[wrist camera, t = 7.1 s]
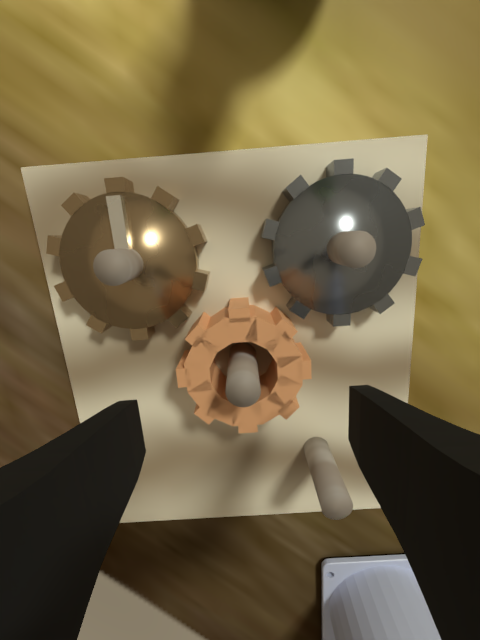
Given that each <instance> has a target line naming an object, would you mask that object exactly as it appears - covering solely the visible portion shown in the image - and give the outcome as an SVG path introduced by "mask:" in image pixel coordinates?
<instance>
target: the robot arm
mask: <svg viewBox="0 0 480 640" xmlns="http://www.w3.org/2000/svg"><path fill="white" fill-rule="evenodd" d="M348 440H349V442H350V445H351V448H352V451H353V453H354V456H355V458H356V461H357V463H358V466H359V468H360V470H361V472H362V474H363V475H364V477H365V479H366V481H367V483H368V485H369V487H370V488H371V490H372V492H373V494H374V496H375V498H376V499H377V501H378V503H379V505H380V507H381V509H382V510H383V512H384V514H385V516H386V518H387V520H388V521H389V523H390V525H391V527H392V529H393V530H394V532H395V534H396V536H397V538H398V540H399V542H400V544H401V546H402V548H403V550H404V552H405V554H399V555H380V556H362V557H344V558H328V559H325V560H324V561H323V562H322V564H321V574H322V640H480V435H479V434H476V433H473V432H471V431H468V430H466V429H463V428H461V427H458V426H456V425H453V424H451V423H449V422H446V421H444V420H442V419H440V418H437V417H435V416H433V415H431V414H428V413H426V412H424V411H422V410H420V409H418V408H416V407H414V406H412V405H410V404H408V403H406V402H404V401H402V400H400V399H398V398H396V397H394V396H392V395H390V394H388V393H385V392H383V391H381V390H379V389H377V388H375V387H372V386H370V385H357V386H349V427H348ZM145 454H146V448H145V442H144V436H143V430H142V425H141V419H140V413H139V407H138V402H137V400H123V401H118V402H116V403H114V404H112V405H110V406H108V407H107V408H105V409H103V410H101V411H100V412H98V413H97V414H95V415H93V416H92V417H90V418H88V419H87V420H85V421H84V422H82V423H80V424H79V425H77V426H76V427H74V428H72V429H71V430H69V431H67V432H66V433H64V434H62V435H61V436H59V437H57V438H55V439H54V440H52V441H50V442H48V443H47V444H45V445H43V446H41V447H40V448H38V449H36V450H34V451H33V452H31V453H29V454H27V455H25V456H23V457H21V458H19V459H17V460H15V461H13V462H11V463H9V464H7V465H5V466H3V467H1V468H0V640H77V637H78V634H79V631H80V628H81V624H82V622H83V618H84V615H85V612H86V609H87V606H88V602H89V600H90V597H91V594H92V591H93V588H94V585H95V582H96V579H97V576H98V573H99V570H100V567H101V565H102V562H103V560H104V557H105V555H106V552H107V550H108V547H109V545H110V543H111V540H112V538H113V536H114V534H115V531H116V529H117V527H118V525H119V522H120V520H121V518H122V516H123V513H124V511H125V509H126V507H127V504H128V502H129V500H130V497H131V495H132V493H133V490H134V488H135V486H136V483H137V481H138V478H139V475H140V472H141V468H142V465H143V461H144V457H145Z"/></svg>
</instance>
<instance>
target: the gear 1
mask: <svg viewBox="0 0 480 640" xmlns="http://www.w3.org/2000/svg"><path fill="white" fill-rule="evenodd" d="M104 182H105V187H106V193H105V194H102V195H99V196H96V197H94V198H92V199H90V198H89V197H88V196H86V195H82V194H78V193H74V192H73V194H72V195H71V196H70V197H69V198H68V199H67V200H66V201H65V202H64V203H63V204H62V205H61V206H62V207H63V208H64V209H65V210H66V211H67V212H68V213H69V215H70V216H71V217H70V219H69V221H68V222H67V224H66V226H65V229H64V231H63V233H62V235H48V237H47V249H46V254H50V255H54V256H58V257H60V266H61V271H62V274H63V278H64V280H65V281H64V282H61V283H59V284H57V285H54V288H55V289H56V291H57V293H58V295H59V296H60V298H61V300H62V302H64V301H67V300H69V299H72V298H75V300H76V301H77V302H78V303H79V304H80V305H81V306H82V307H83V308H84V309H85V310H86V311H87V312H88V313H89V314H91V316H90V318H89V320H88V322H87V324H86V325H87V326H89V327H90V328H92V329H94V330H96V331H98V332H99V333H101V334H102V333H103V332H105V331H106V330H107V329H109V328H110V327H112V326H116V327H120V328H126V329H130V334H131V339H132V341H133V340H147V339H149V338H150V337H151V336H152V335H153V334H154V333H155V327H154V326H155V325H157V324H159V323H162V322H164V321H165V320H167V319H168V320H169V322H170V323H171V324H172V325H173V326H174V327H175V328H177V327H178V326H179V325H181V324H182V323H183V322H184V321H185V320H187V319H188V318H189V316H190V315H191V313H192V311H191V310H190V309H189V307H188V306H187V305H186V304H185V302H186V301H187V299H188V298H189V297H190V295H191V293H192V291H193V289H195V290H199V291H203V292H204V291H205V290H206V288H207V285H208V280H209V276H210V271H205V270H201V269H199V257H198V252H197V247H196V246H197V245H200V244H202V243H205V242H207V239H206V237H205V234H204V232H203V230H202V227H201V225H199V224H195V225H193V226H191V227H187V225H186V224H185V223H184V222H183V220H182V219H181V218H180V217H179V216H178V215H177V214H176V213H175V212H174V209H175V207H176V206H177V204H178V202H179V199H177V198H176V197H174V196H173V195H171V194H170V193H168V192H166V191H165V190H163V189H162V188H160V187H159V186H157V187H156V189H155V191H154V193H153V195H152V197H151V198H149V197H146V196H144V195H140V194H137V193H134V187H133V182H132V181H130V180H128V179H126V178H124V177H114V178H104ZM119 248H126V249H133V250H135V251H136V252H138V253H139V255H140V256H141V258H142V260H143V271H142V273H141V274H140V276H138V277H137V278H135V279H133V280H130V281H128V282H125V283H123V284H120V285H117V286H109V285H106V284H104V283H102V282H101V281H100V280H99V279H98V278H97V277H96V275H95V273H94V269H93V262H94V259H95V257H96V256H97V254H99V253H100V252H101V251H103V250H108V249H119Z"/></svg>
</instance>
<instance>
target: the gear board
mask: <svg viewBox="0 0 480 640" xmlns="http://www.w3.org/2000/svg"><path fill="white" fill-rule="evenodd" d="M427 136H428V135H416V136H404V137H391V138H379V139H366V140H354V141H342V142H329V143H317V144H305V145H292V146H280V147H268V148H255V149H243V150H231V151H218V152H206V153H194V154H181V155H169V156H156V157H144V158H132V159H119V160H107V161H95V162H82V163H70V164H58V165H45V166H33V167H21V171H22V175H23V180H24V184H25V188H26V193H27V197H28V201H29V205H30V210H31V214H32V218H33V223H34V227H35V231H36V236H37V240H38V244H39V248H40V253H41V257H42V261H43V266H44V270H45V274H46V278H47V283H48V287H49V291H50V296H51V300H52V304H53V309H54V313H55V317H56V321H57V326H58V330H59V334H60V339H61V343H62V347H63V351H64V356H65V360H66V364H67V369H68V373H69V377H70V382H71V386H72V390H73V394H74V399H75V403H76V407H77V412H78V416H79V420H80V423H82V422H84V421H85V420H87V419H88V418H90V417H92V416H93V415H95V414H97V413H98V412H100V411H101V410H103V409H105V408H107V407H108V406H110V405H112V404H114V403H116V402H118V401H123V400H137V402H138V407H139V413H140V419H141V425H142V430H143V436H144V442H145V448H146V454H145V457H144V461H143V465H142V468H141V472H140V475H139V478H138V481H137V483H136V486H135V488H134V490H133V493H132V495H131V497H130V500H129V502H128V504H127V507H126V509H125V511H124V513H123V516H122V518H121V520H120V522H119V523H127V522H144V521H161V520H179V519H196V518H214V517H231V516H249V515H266V514H283V513H301V512H318V511H322V513H323V514H324V515H325V516H326V517H327V518H330V519H334V520H338V519H342V518H345V517H347V516H348V515H349V514H350V513H351V511H352V510H353V509H371V508H381V507H380V505H379V503H378V501H377V499H376V498H375V496H374V494H373V492H372V490H371V488H370V487H369V485H368V483H367V481H366V479H365V477H364V475H363V474H362V472H361V470H360V468H359V466H358V463H357V461H356V458H355V456H354V453H353V451H352V448H351V445H350V442H349V440H348V427H349V386H357V385H370V386H372V387H375V388H377V389H379V390H381V391H383V392H385V393H388V394H390V395H392V396H394V397H396V398H398V399H400V400H402V401H404V402H406V403H408V393H409V380H410V366H411V353H412V339H413V325H414V312H415V298H416V285H417V274H416V276H411V275H406V274H403V275H402V276H401V278H400V280H399V281H398V283H397V284H396V285H395V287H394V288H393V289H392V290H391V291H390V292H389V293H388V294H389V296H390V297H391V298H392V300H393V301H394V303H395V304H393V305H392V306H391V307H389V308H388V309H387V310H385V311H384V312H383V313H381V314H379V313H377V312H375V311H374V310H372V309H370V308H369V307H368V308H366V309H363V310H361V311H358V312H354V313H351V323H350V326H335V327H333V326H332V325H331V324H330V323H329V322H328V321H327V320H326V314H325V313H321V312H317V311H314V310H312V309H311V310H310V311H309V313H308V314H307V316H306V317H305V319H302V318H301V317H299V316H297V315H296V314H294V313H293V312H291V311H289V309H288V308H287V306H286V304H287V303H288V301H289V300H290V298H291V297H292V295H291V294H290V293H289V292H288V291H287V290H286V288H285V287H284V286H283V284H282V283H279V284H276V285H274V286H271V287H270V286H269V284H268V282H267V280H266V277H265V275H264V272H263V270H262V268H263V267H265V266H268V265H270V264H273V260H272V240H269V239H265V238H261V237H260V236H261V232H262V228H263V224H264V221H265V219H271V220H275V221H278V219H279V217H280V215H281V214H282V212H283V210H284V209H285V207H286V206H287V205H288V203H289V201H288V199H287V198H286V197H285V195H284V194H283V193H282V191H283V190H284V189H285V188H286V187H287V186H288V185H289V184H290V183H292V182H293V181H294V180H295V179H296V178H297V177H298V176H299V175H302V177H303V178H304V179H305V181H306V182H307V183H308V185H309V186H310V185H312V184H313V183H315V182H317V181H319V180H321V179H324V178H326V166H327V165H328V164H330V163H331V162H332V161H333V160H339V159H352V158H354V169H353V174H359V175H364V176H368V177H371V178H372V177H373V175H374V174H375V173H376V172H379V171H381V170H383V169H385V168H388V169H390V170H391V171H392V172H394V173H395V174H396V175H398V176H399V177H400V178H402V179H401V181H400V182H399V184H398V185H397V187H396V188H395V189H394V191H393V192H394V193H395V194H396V195H397V196H398V198H399V199H400V200H401V202H402V203H403V205H404V207H405V209H410V208H416V207H421V211H422V203H423V190H424V176H425V163H426V149H427ZM114 177H124V178H126V179H128V180H130V181H132V182H133V187H134V193H137V194H140V195H144V196H146V197H149V198H151V197H152V195H153V193H154V191H155V189H156V187H157V186H159V187H160V188H162V189H163V190H165V191H166V192H168V193H170V194H171V195H173V196H174V197H176V198H177V199H179V202H178V204H177V206H176V207H175V209H174V212H175V213H176V214H177V215H178V216H179V217H180V218H181V219H182V220H183V222H184V223H185V224H186V225H187V227H191V226H193V225H195V224H199V225H201V227H202V230H203V232H204V234H205V237H206V239H207V242H205V243H202V244H200V245H197V246H196V247H197V252H198V257H199V269H201V270H205V271H210V276H209V280H208V285H207V288H206V290H205V291H204V292H203V291H199V290H195V289H193V291H192V293H191V295H190V297H189V298H188V299H187V301H186V302H185V304H186V305H187V306H188V307H189V309H190V310H191V311H192V313H191V315H190V316H189V318H188V319H187V320H185V321H184V322H183V323H182V324H181V325H179V326H178V327H177V328H175V327H174V326H173V325H172V324H171V323H170V322H169V320H168V319H167V320H165V321H164V322H162V323H159V324H157V325H155V326H154V327H155V333H154V334H153V335H152V336H151V337H150V338H149V339H147V340H133V341H132V339H131V334H130V329H126V328H120V327H116V326H112V327H110V328H109V329H107V330H106V331H105V332H103V333H102V334H101V333H99V332H98V331H96V330H94V329H92V328H90V327H89V326H87V325H86V324H87V322H88V320H89V318H90V316H91V314H89V313H88V312H87V311H86V310H85V309H84V308H83V307H82V306H81V305H80V304H79V303H78V302H77V301H76V300H75V298H72V299H69V300H67V301H64V302H62V300H61V298H60V296H59V295H58V293H57V291H56V289H55V288H54V285H57V284H59V283H61V282H64V281H65V280H64V278H63V274H62V271H61V266H60V257H58V256H54V255H50V254H46V249H47V237H48V235H62V233H63V231H64V229H65V226H66V224H67V222H68V221H69V219H70V217H71V216H70V215H69V213H68V212H67V211H66V210H65V209H64V208H63V207H62V206H61V205H62V204H63V203H64V202H65V201H66V200H67V199H68V198H69V197H70V196H71V195H72V194H73V192H74V193H78V194H82V195H86V196H88V197H89V198H90V199H92V198H94V197H96V196H99V195H102V194H105V193H106V187H105V182H104V178H114ZM420 231H421V227H419V228H416V229H414V230H412V247H411V253H410V256H413V257H417V258H419V244H420ZM375 253H376V242H375V240H374V238H373V237H372V235H370V234H369V233H367V232H365V231H344V232H339V233H336V234H335V235H333V236H332V237H331V239H330V240H329V242H328V244H327V254H328V257H329V258H330V260H331V261H333V262H334V263H336V264H340V265H344V266H347V267H351V268H361V267H364V266H366V265H367V264H369V263H370V262H371V261H372V259H373V258H374V256H375ZM93 269H94V273H95V275H96V277H97V278H98V279H99V280H100V281H101V282H102V283H104V284H106V285H109V286H117V285H120V284H123V283H125V282H128V281H130V280H133V279H135V278H137V277H138V276H140V274H141V273H142V271H143V260H142V258H141V256H140V255H139V253H138V252H136V251H135V250H133V249H126V248H119V249H108V250H103V251H101V252H100V253H99V254H97V256H96V257H95V259H94V262H93ZM244 297H248V299H249V305H255V306H257V307H259V308H262V309H264V310H266V311H268V312H271V311H272V310H273V309H274V308H275V307H277V308H279V309H280V310H281V311H282V312H283V313H284V314H285V315H287V316H288V317H289V318H290V320H291V321H292V323H293V325H294V326H295V328H296V330H297V331H298V332H297V333H296V334H295V335H294V336H293V337H292V338H293V339H294V341H295V343H300V342H301V343H302V345H303V347H304V349H305V350H306V352H307V354H308V355H309V357H310V359H311V375H312V379H305V380H303V385H302V387H301V388H300V390H299V392H298V393H297V395H296V398H297V401H298V404H299V406H300V407H299V408H298V409H297V410H296V411H295V412H294V413H293V414H292V415H291V416H290V417H289V418H288V419H287V420H286V419H284V418H283V417H282V416H281V415H278V416H276V417H275V418H273V419H271V420H269V421H268V422H266V423H264V424H262V425H257V427H258V432H255V433H239V431H238V426H231V425H228V424H226V423H224V422H221V421H219V420H217V419H214V420H213V421H212V422H211V423H210V424H209V425H208V424H207V423H206V422H204V421H203V420H202V419H200V418H199V417H198V416H196V415H195V414H194V411H195V407H196V402H195V401H194V400H193V398H192V397H191V396H190V395H189V393H188V391H187V387H182V388H178V383H177V376H176V368H177V366H178V364H179V361H180V359H181V357H182V355H183V353H184V351H185V350H190V349H191V347H192V345H191V344H190V343H188V342H187V341H186V340H185V338H186V336H187V334H188V332H189V331H190V329H191V327H192V325H193V324H194V323H195V321H196V320H197V319H198V318H199V317H200V316H201V314H202V313H203V312H205V313H207V314H208V315H209V316H210V317H211V316H213V315H214V314H216V313H217V312H219V311H220V310H222V309H223V308H225V307H229V302H230V298H244ZM272 360H273V358H272V355H271V354H270V353H269V351H268V350H267V349H265V348H263V347H261V346H259V345H257V344H255V343H252V342H239V343H231V344H230V345H228V346H227V347H225V348H224V349H222V350H221V351H219V352H217V354H216V356H215V364H216V365H217V366H218V368H219V369H220V370H221V372H222V373H223V374H224V375H225V376H227V380H226V390H225V393H226V397H227V399H228V400H229V402H230V403H232V404H233V405H235V406H237V407H249V406H251V405H253V404H255V403H256V402H257V401H258V399H259V397H260V394H261V388H260V381H259V376H261V375H262V374H264V373H266V371H267V369H268V367H269V365H270V364H271V362H272Z"/></svg>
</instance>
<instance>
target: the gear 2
mask: <svg viewBox="0 0 480 640" xmlns="http://www.w3.org/2000/svg"><path fill="white" fill-rule="evenodd" d="M353 169H354V158H352V159H339V160H333V161H332V162H331V163H330V164H328V165H327V166H326V178H324V179H321V180H319V181H317V182H315V183H313V184H312V185H310V186H309V185H308V183H307V182H306V181H305V179H304V178H303V177H302V175H299V176H298V177H297V178H296V179H295V180H294V181H293V182H292V183H290V184H289V185H288V186H287V187H286V188H285V189H284V190H283V191H282V193H283V194H284V195H285V197H286V198H287V199H288V201H289V203H288V205H287V206H286V207H285V209H284V210H283V212H282V214H281V215H280V217H279V219H278V221H275V220H271V219H265V221H264V224H263V228H262V232H261V236H260V237H261V238H265V239H269V240H272V260H273V264H270V265H268V266H265V267H263V268H262V270H263V272H264V275H265V277H266V280H267V282H268V284H269V286H270V287H271V286H274V285H276V284H279V283H282V284H283V286H284V287H285V288H286V290H287V291H288V292H289V293H290V294H291V295H292V297H291V298H290V300H289V301H288V303H287V304H286V306H287V308H288V309H289V311H291V312H293V313H294V314H296V315H297V316H299V317H301V318H302V319H305V317H306V316H307V314H308V313H309V311H310V310H311V309H312V310H314V311H317V312H321V313H325V314H326V320H327V321H328V322H329V323H330V324H331V325H332V326H333V327H335V326H350V323H351V313H354V312H358V311H361V310H363V309H366V308H368V307H369V308H370V309H372V310H374V311H375V312H377V313H379V314H381V313H383V312H384V311H385V310H387V309H388V308H389V307H391V306H392V305H393V304H395V303H394V301H393V300H392V298H391V297H390V296H389V294H388V293H389V292H390V291H391V290H392V289H393V288H394V287H395V285H396V284H397V283H398V281H399V280H400V278H401V276H402V275H403V274H406V275H411V276H416V274H417V271H418V269H419V266H420V263H421V261H422V259H421V258H417V257H413V256H410V253H411V247H412V230H414V229H416V228H419V227H421V226H424V225H425V223H424V219H423V215H422V211H421V207H416V208H410V209H405V207H404V205H403V203H402V202H401V200H400V199H399V198H398V196H397V195H396V194H395V193H394V192H393V191H394V189H395V188H396V187H397V185H398V184H399V182H400V181H401V179H402V178H400V177H399V176H398V175H396V174H395V173H394V172H392V171H391V170H390V169H388V168H385V169H383V170H381V171H379V172H376V173H375V174H374V175H373V177H372V178H371V177H368V176H364V175H359V174H353ZM344 231H365V232H367V233H369V234H370V235H372V237H373V238H374V240H375V242H376V253H375V256H374V258H373V259H372V261H371V262H370V263H369V264H367V265H366V266H364V267H361V268H351V267H347V266H344V265H340V264H336V263H334V262H333V261H331V260H330V258H329V257H328V254H327V244H328V242H329V240H330V239H331V237H332V236H333V235H335V234H336V233H339V232H344Z"/></svg>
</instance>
